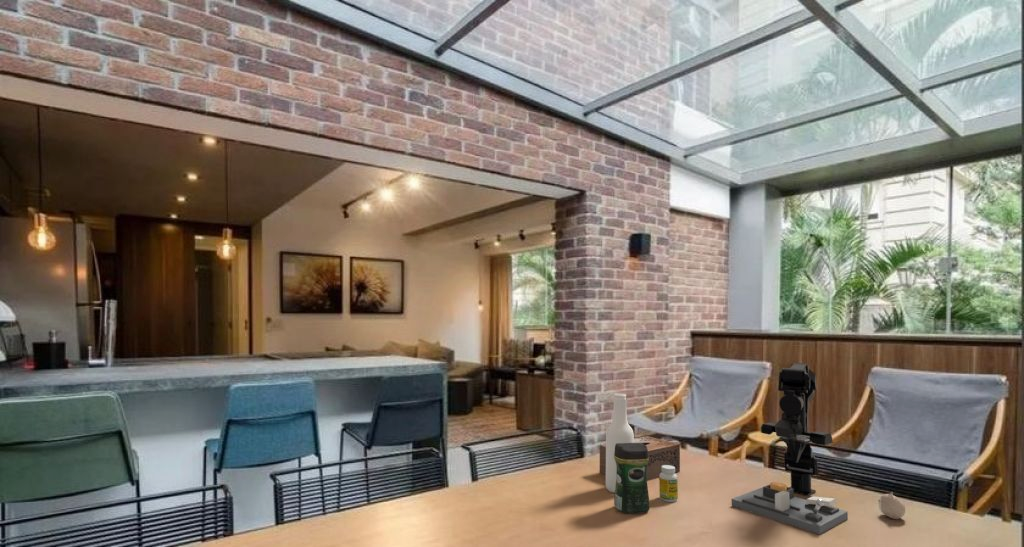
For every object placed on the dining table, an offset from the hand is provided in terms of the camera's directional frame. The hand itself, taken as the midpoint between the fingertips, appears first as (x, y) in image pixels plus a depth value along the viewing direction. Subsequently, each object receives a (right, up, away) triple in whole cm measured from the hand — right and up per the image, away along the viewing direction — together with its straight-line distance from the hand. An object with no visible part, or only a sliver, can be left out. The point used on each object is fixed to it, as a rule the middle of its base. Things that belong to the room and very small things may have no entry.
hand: (795, 462), depth 156 cm
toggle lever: (-5, -7, -18) cm, 21 cm away
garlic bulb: (+21, -12, -11) cm, 27 cm away
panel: (-7, -11, -9) cm, 16 cm away
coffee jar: (-52, -11, -9) cm, 54 cm away
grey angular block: (-10, -9, -12) cm, 18 cm away
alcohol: (-52, -12, +8) cm, 54 cm away
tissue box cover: (-41, -14, +26) cm, 50 cm away
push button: (-6, -9, -1) cm, 11 cm away
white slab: (+1, -8, -11) cm, 13 cm away
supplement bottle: (-39, -12, 0) cm, 40 cm away
